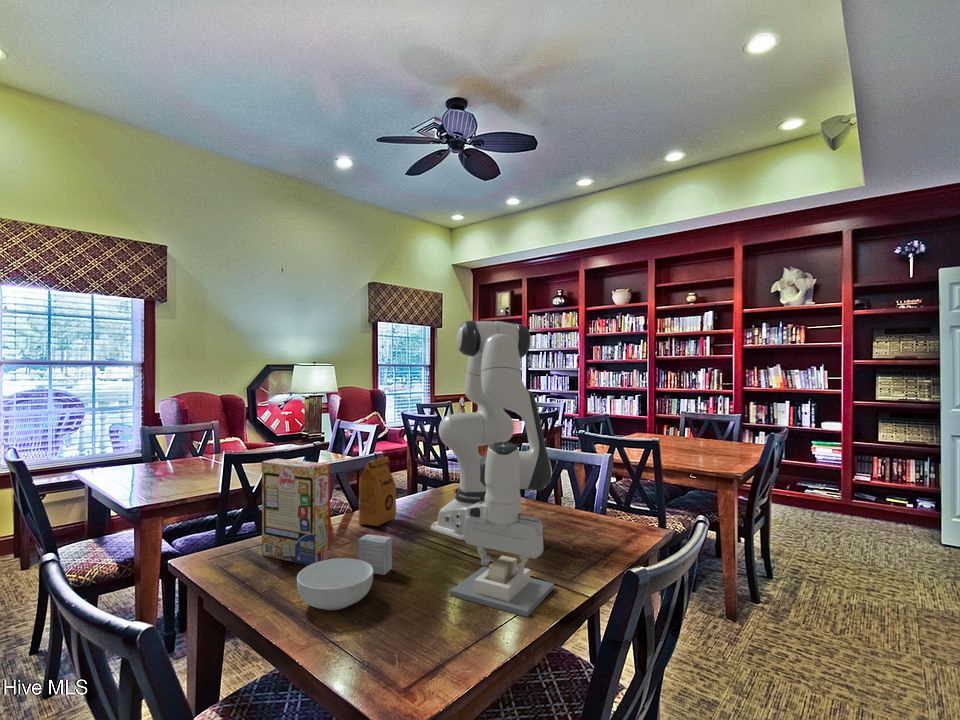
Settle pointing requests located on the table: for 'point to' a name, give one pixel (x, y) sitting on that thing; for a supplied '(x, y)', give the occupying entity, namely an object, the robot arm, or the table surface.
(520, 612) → the cradle
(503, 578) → the key block
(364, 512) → the coffee package
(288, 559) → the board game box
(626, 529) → the table surface
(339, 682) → the table surface
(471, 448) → the robot arm
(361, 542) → the medicine box
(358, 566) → the cereal bowl
